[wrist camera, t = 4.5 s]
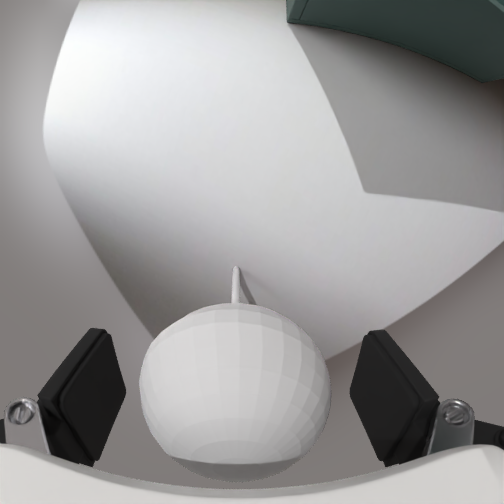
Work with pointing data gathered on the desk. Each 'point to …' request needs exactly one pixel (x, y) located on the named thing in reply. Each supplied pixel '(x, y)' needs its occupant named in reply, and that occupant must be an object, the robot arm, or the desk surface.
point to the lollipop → (235, 391)
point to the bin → (420, 28)
